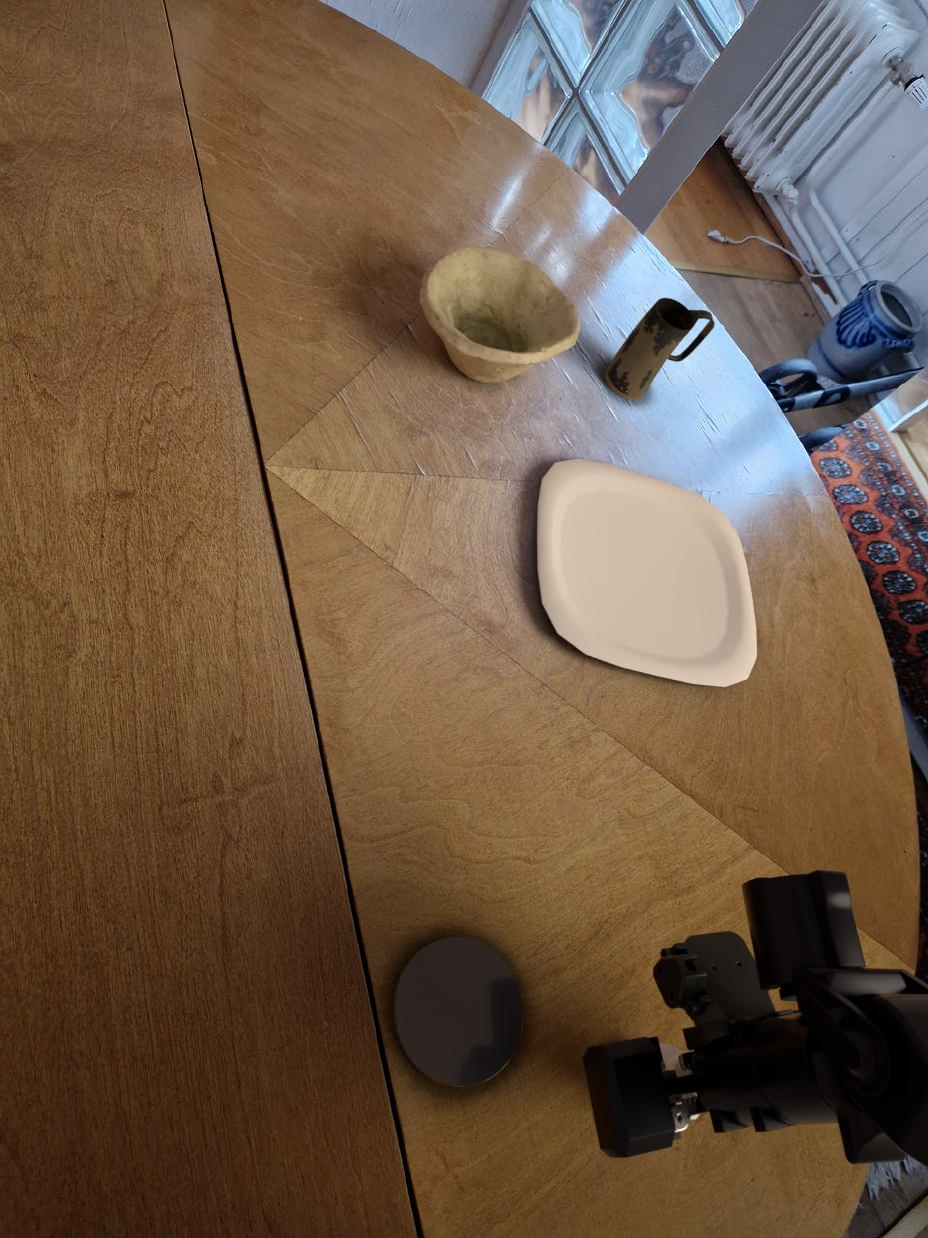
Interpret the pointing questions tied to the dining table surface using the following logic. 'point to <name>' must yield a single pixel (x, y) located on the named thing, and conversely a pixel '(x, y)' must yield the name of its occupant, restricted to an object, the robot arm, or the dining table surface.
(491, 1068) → the coaster
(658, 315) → the mug
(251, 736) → the dining table surface
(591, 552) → the plate
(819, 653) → the dining table surface
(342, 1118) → the dining table surface
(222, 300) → the dining table surface
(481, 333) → the bowl
